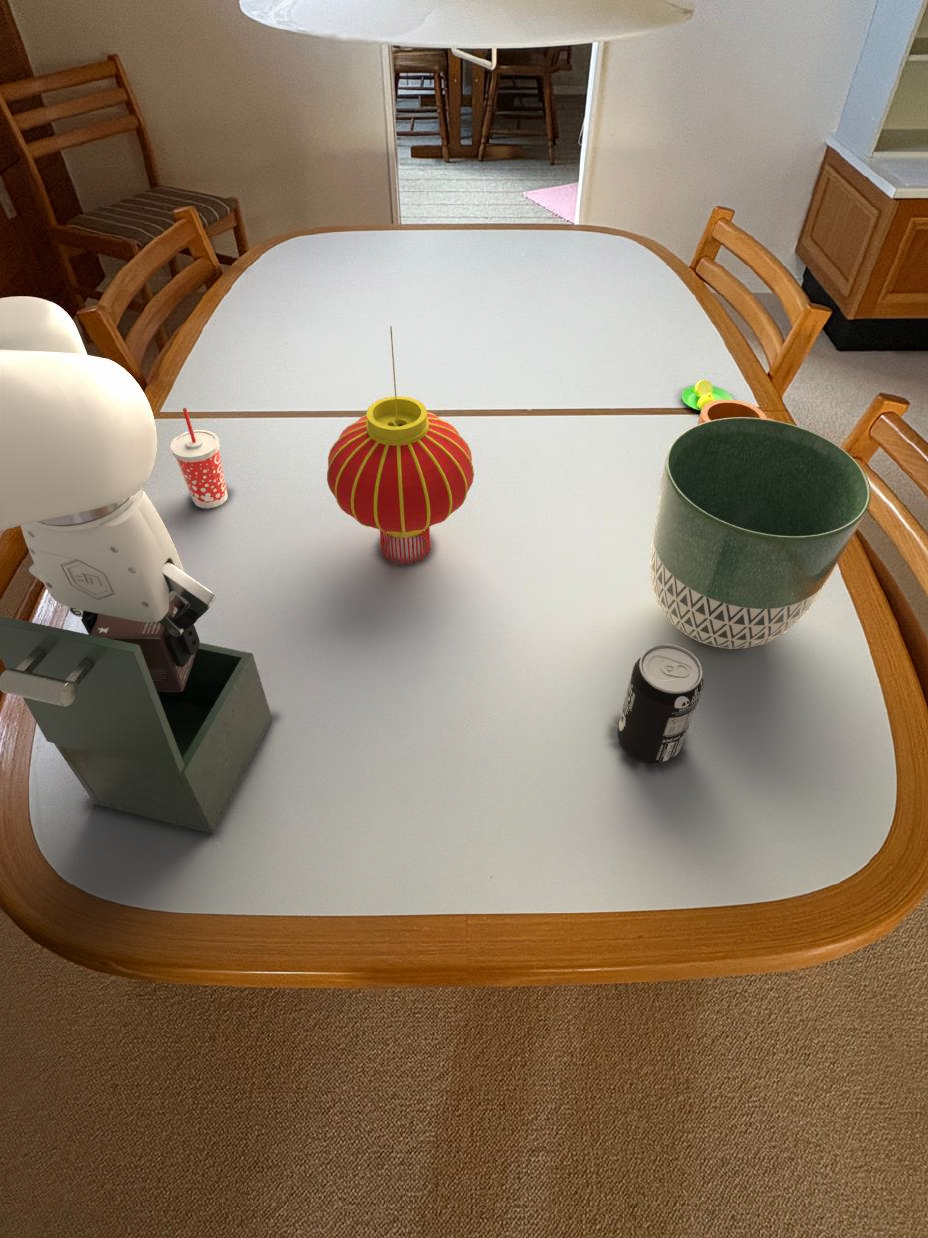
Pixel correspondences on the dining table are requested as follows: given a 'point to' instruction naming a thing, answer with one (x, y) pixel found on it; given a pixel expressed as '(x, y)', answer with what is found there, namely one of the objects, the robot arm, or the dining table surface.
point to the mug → (729, 410)
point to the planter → (750, 527)
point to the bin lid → (87, 692)
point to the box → (148, 648)
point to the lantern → (400, 471)
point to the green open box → (189, 746)
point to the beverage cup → (201, 465)
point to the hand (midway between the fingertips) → (148, 645)
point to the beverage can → (660, 703)
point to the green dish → (703, 394)
